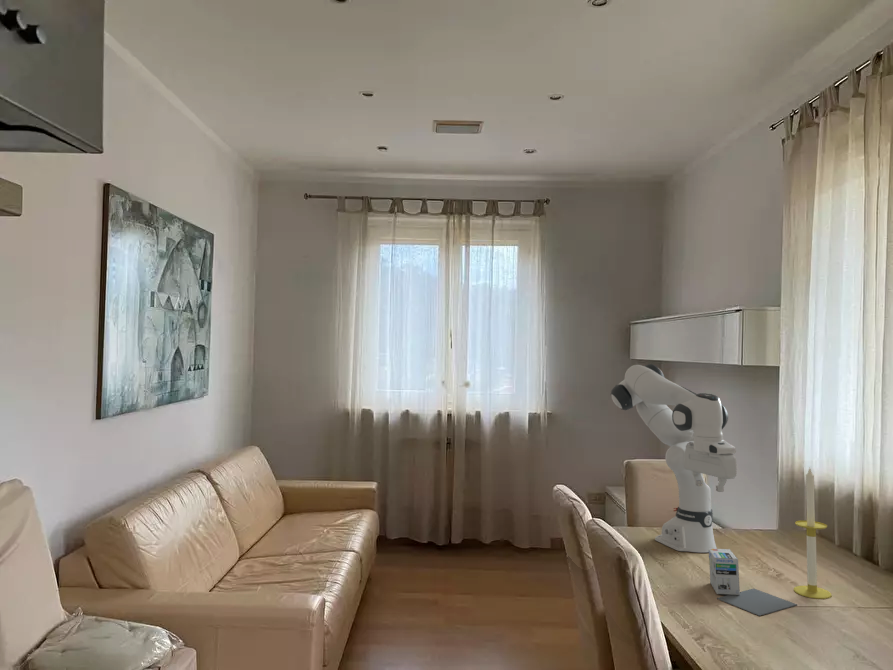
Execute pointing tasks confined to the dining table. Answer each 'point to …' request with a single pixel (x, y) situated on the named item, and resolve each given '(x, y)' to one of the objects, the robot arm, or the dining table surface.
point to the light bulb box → (724, 571)
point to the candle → (811, 545)
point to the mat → (757, 602)
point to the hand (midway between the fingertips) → (709, 488)
